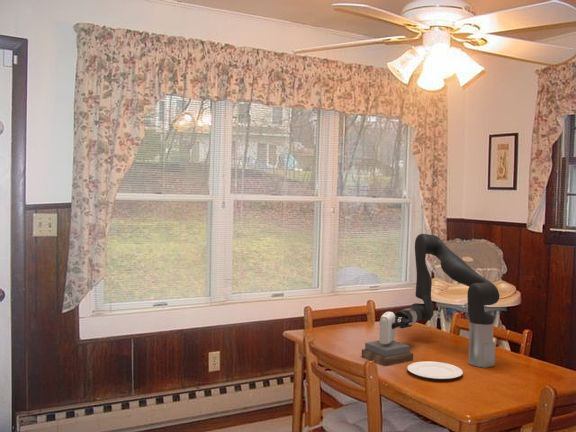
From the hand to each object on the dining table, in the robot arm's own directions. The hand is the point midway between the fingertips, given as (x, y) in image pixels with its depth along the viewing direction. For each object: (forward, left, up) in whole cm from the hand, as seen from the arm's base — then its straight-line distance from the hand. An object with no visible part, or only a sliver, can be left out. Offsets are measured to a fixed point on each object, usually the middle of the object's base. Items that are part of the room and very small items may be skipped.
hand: (386, 325), depth 232 cm
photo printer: (0, -1, -7) cm, 7 cm away
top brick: (0, 0, -11) cm, 11 cm away
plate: (-24, -3, -15) cm, 28 cm away
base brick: (0, 0, -14) cm, 14 cm away
